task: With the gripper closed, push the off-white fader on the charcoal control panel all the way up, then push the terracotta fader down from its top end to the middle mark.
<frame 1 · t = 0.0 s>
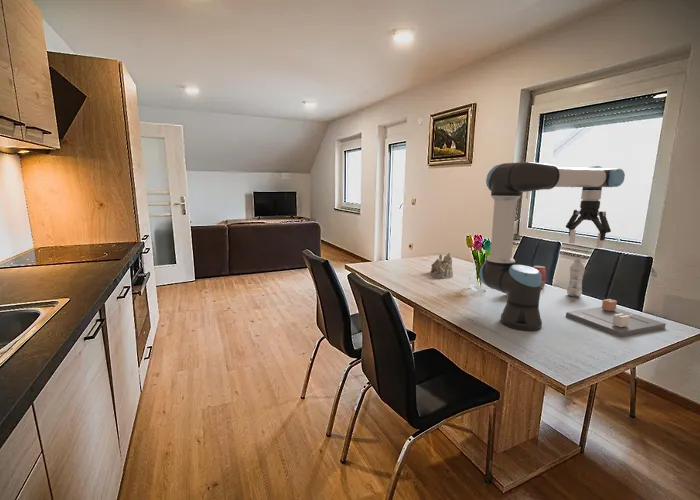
hand: (584, 245, 164), 28 cm above the table, fingers open, 13 cm apart
cup: (512, 296, 176), on the table
fader panel: (613, 322, 142), on the table
plastic bottle: (573, 296, 177), on the table
ceramic cottage: (439, 275, 219), on the table
soda can: (537, 287, 192), on the table
white fader: (621, 320, 133), point 4 cm above the table, slide at 0.0 cm
terracotta fader: (609, 304, 150), point 4 cm above the table, slide at 14.0 cm
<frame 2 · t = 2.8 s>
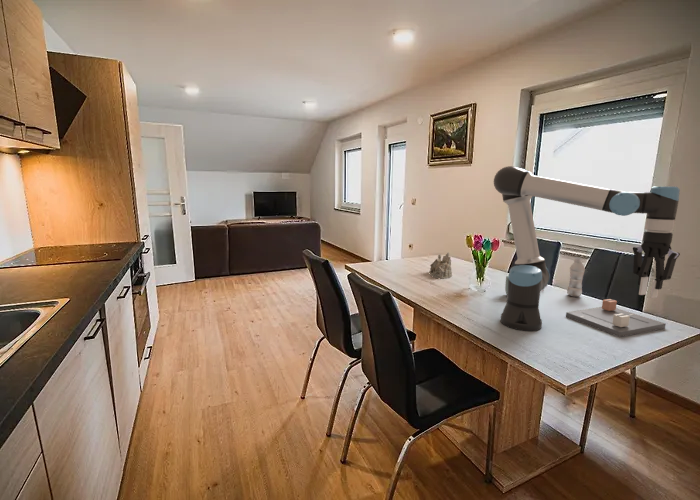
hand: (647, 295, 124), 17 cm above the table, fingers open, 3 cm apart
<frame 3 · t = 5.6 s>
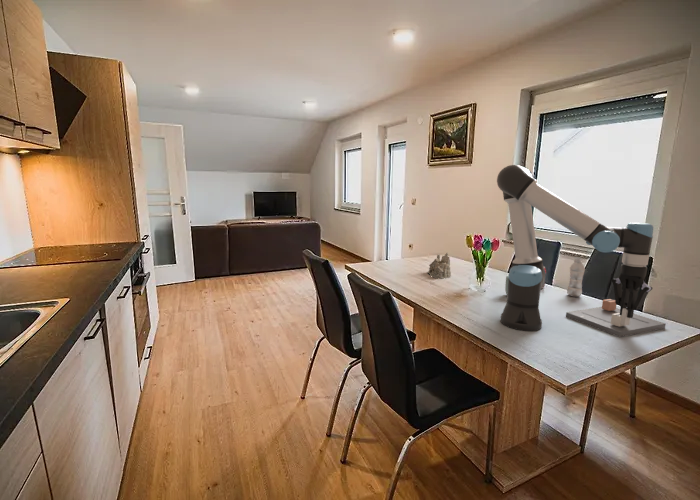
hand: (624, 324, 132), 3 cm above the table, fingers closed
white fader: (619, 319, 133), point 4 cm above the table, slide at 0.7 cm, touching gripper
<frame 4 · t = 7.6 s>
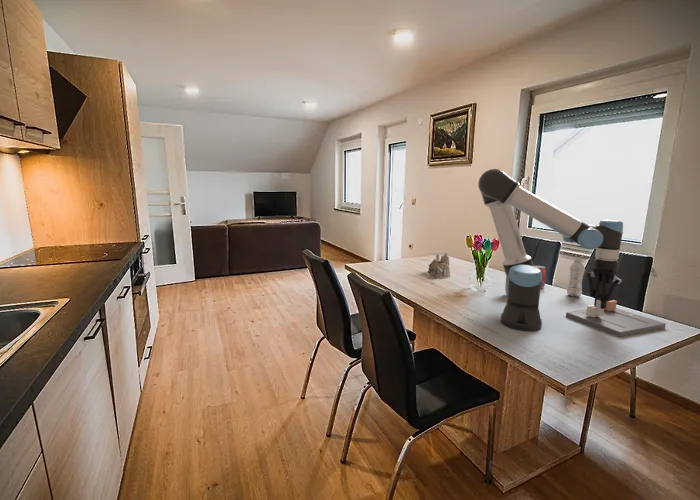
hand: (598, 315, 141), 3 cm above the table, fingers closed
white fader: (593, 310, 143), point 4 cm above the table, slide at 10.7 cm, touching gripper
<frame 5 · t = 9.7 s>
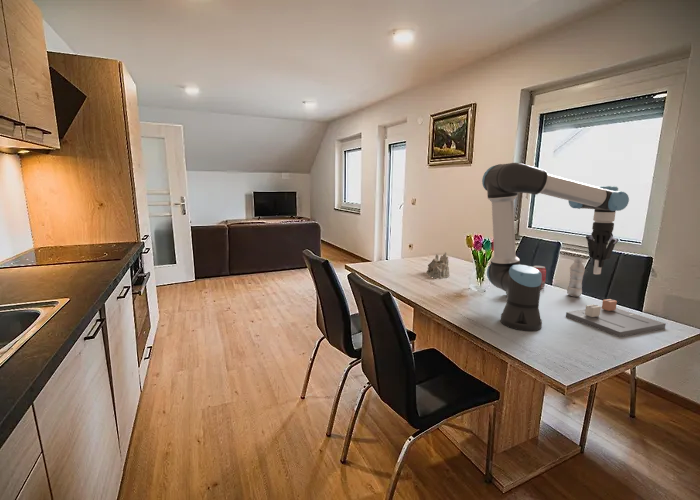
hand: (596, 273, 155), 17 cm above the table, fingers closed
white fader: (592, 310, 143), point 4 cm above the table, slide at 11.2 cm
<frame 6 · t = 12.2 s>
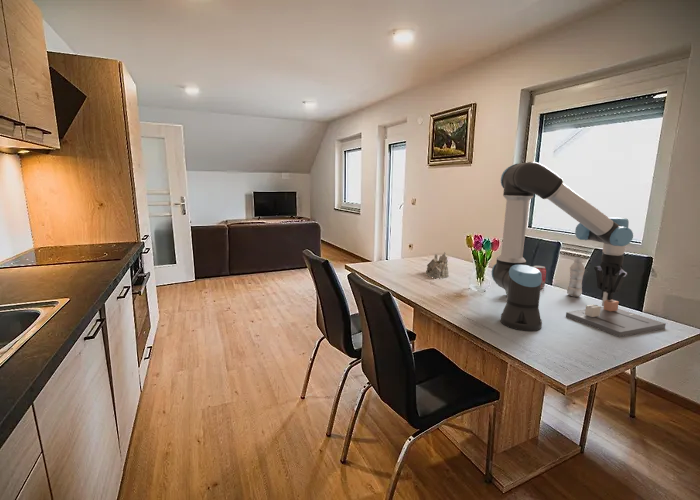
hand: (605, 305, 152), 3 cm above the table, fingers closed
terracotta fader: (611, 305, 150), point 4 cm above the table, slide at 13.2 cm, touching gripper
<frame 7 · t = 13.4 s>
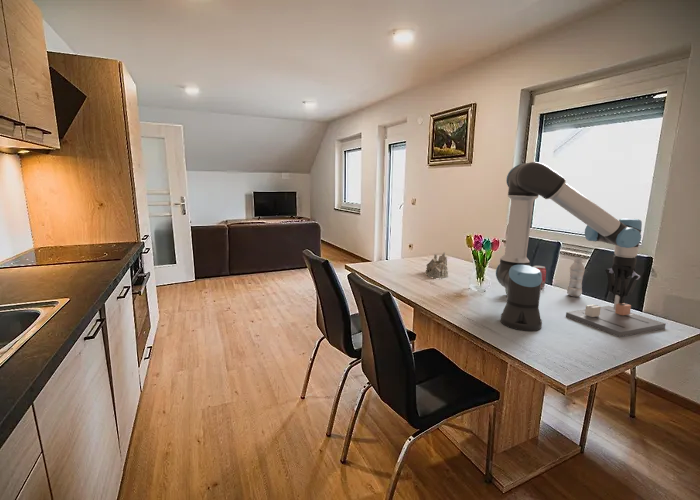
hand: (617, 309, 147), 3 cm above the table, fingers closed
terracotta fader: (623, 308, 145), point 4 cm above the table, slide at 8.3 cm, touching gripper
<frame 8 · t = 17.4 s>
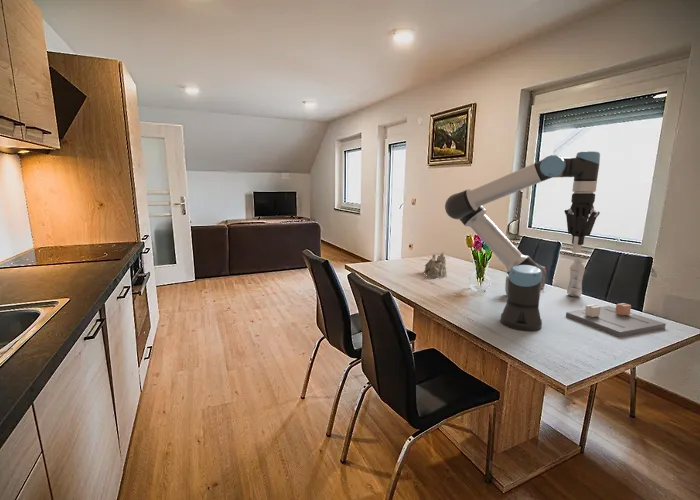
hand: (576, 252, 137), 29 cm above the table, fingers closed
terracotta fader: (623, 309, 145), point 4 cm above the table, slide at 8.3 cm
at the end: white fader slide at 11.2 cm; terracotta fader slide at 8.3 cm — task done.
